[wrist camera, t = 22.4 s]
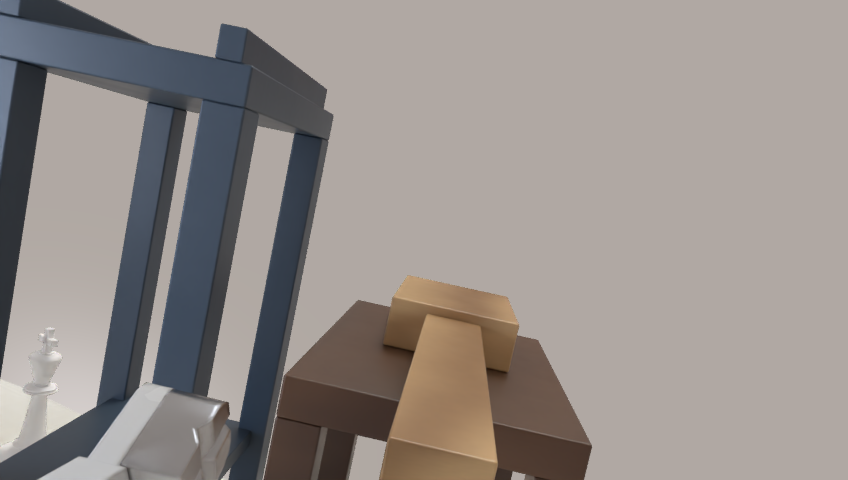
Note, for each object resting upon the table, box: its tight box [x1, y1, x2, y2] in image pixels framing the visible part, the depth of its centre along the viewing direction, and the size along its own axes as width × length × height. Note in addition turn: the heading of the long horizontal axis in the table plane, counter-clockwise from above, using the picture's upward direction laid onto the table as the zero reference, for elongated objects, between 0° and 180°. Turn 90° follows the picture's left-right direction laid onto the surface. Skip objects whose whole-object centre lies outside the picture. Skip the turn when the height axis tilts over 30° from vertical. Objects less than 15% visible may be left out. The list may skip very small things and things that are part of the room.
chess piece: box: [0, 327, 62, 463], centre depth 43 cm, size 5×5×10 cm
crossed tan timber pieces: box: [379, 275, 519, 480], centre depth 23 cm, size 6×20×2 cm, turn 177°
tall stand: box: [0, 0, 333, 480], centre depth 29 cm, size 10×14×29 cm
